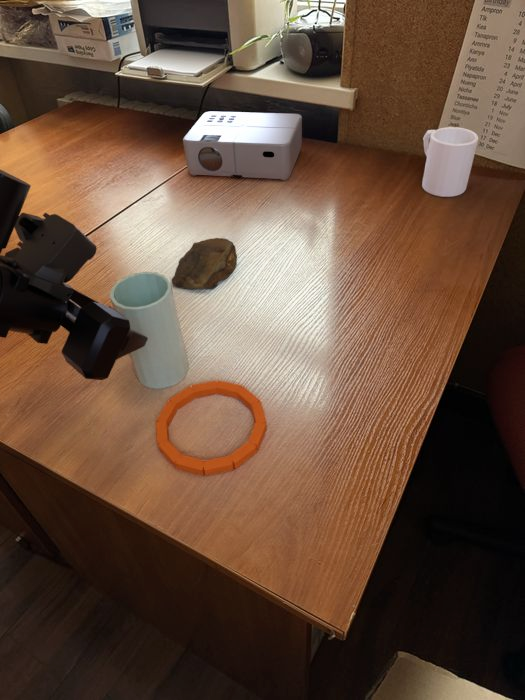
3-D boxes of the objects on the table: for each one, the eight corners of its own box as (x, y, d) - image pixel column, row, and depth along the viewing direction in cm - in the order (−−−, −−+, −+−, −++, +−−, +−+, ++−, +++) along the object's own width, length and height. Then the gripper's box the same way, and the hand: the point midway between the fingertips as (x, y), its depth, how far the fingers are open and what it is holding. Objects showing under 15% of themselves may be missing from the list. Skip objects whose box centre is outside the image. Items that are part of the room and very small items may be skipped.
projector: (209, 145, 117) (204, 110, 111) (302, 148, 113) (303, 112, 107) (186, 177, 105) (179, 140, 100) (289, 183, 101) (288, 144, 96)
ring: (161, 485, 53) (159, 479, 52) (155, 398, 62) (153, 392, 61) (276, 461, 55) (275, 455, 54) (253, 379, 63) (253, 373, 62)
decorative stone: (220, 296, 76) (218, 277, 73) (163, 287, 78) (159, 269, 76) (242, 258, 83) (240, 239, 81) (189, 250, 85) (186, 232, 83)
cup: (137, 393, 63) (109, 313, 54) (135, 356, 67) (110, 277, 58) (191, 383, 63) (173, 302, 54) (185, 347, 68) (168, 267, 59)
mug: (434, 166, 103) (444, 117, 96) (474, 191, 95) (488, 138, 88) (401, 175, 101) (409, 125, 94) (439, 201, 93) (450, 148, 86)
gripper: (78, 244, 37) (207, 291, 51) (-30, 176, 47) (102, 230, 60) (21, 375, 39) (161, 387, 52) (-72, 283, 49) (66, 313, 62)
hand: (120, 323), depth 56 cm, fingers open, 9 cm apart
